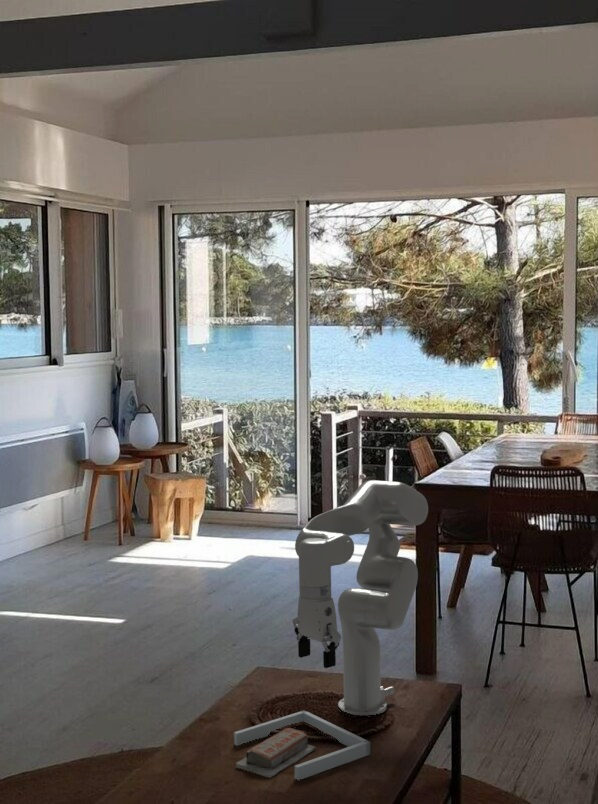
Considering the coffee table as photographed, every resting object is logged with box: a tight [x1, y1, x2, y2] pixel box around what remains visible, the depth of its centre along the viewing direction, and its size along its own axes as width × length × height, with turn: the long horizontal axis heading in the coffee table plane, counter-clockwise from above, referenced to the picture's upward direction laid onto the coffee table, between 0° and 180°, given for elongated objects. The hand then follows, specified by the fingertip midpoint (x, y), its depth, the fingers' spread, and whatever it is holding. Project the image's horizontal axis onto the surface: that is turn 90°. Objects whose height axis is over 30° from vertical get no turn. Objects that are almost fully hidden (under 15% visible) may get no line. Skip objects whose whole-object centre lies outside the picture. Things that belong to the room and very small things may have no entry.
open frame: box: [233, 710, 371, 781], centre depth 266 cm, size 21×25×3 cm
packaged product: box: [235, 728, 316, 779], centre depth 261 cm, size 18×5×10 cm
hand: (316, 661), depth 267 cm, fingers open, 9 cm apart
